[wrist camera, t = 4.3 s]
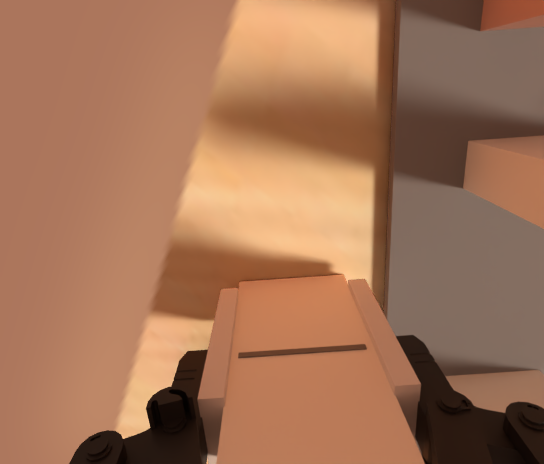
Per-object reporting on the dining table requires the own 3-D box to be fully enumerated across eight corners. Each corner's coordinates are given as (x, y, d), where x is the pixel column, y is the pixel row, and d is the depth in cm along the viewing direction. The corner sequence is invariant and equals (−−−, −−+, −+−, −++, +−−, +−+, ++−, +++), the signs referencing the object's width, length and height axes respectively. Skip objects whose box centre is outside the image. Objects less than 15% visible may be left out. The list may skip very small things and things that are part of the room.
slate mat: (555, 478, 24) (562, 487, 23) (376, 490, 24) (379, 499, 23) (705, -77, 14) (724, -84, 13) (398, -54, 14) (403, -60, 13)
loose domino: (343, 311, 19) (437, 572, 9) (243, 318, 19) (219, 586, 9) (343, 273, 18) (445, 509, 8) (239, 280, 18) (207, 525, 8)
